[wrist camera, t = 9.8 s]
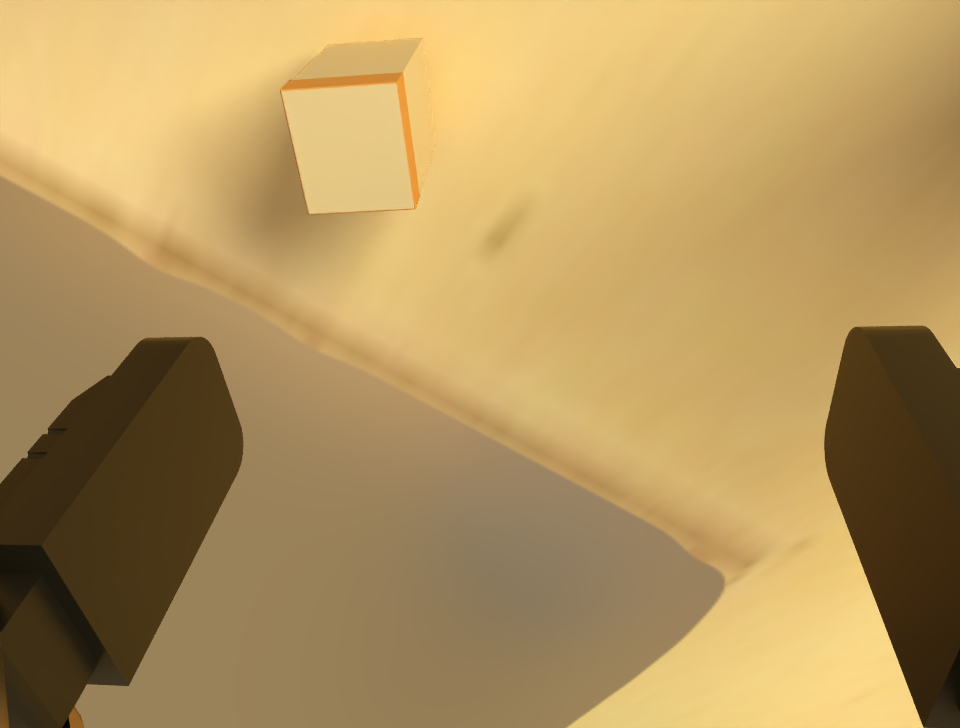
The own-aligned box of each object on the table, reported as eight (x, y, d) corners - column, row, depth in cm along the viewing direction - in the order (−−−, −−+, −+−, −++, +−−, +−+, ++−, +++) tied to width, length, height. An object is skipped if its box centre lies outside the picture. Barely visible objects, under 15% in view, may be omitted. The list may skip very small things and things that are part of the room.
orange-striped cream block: (424, 36, 31) (397, 81, 26) (437, 146, 34) (415, 209, 28) (326, 43, 32) (279, 90, 26) (347, 151, 34) (307, 215, 29)
